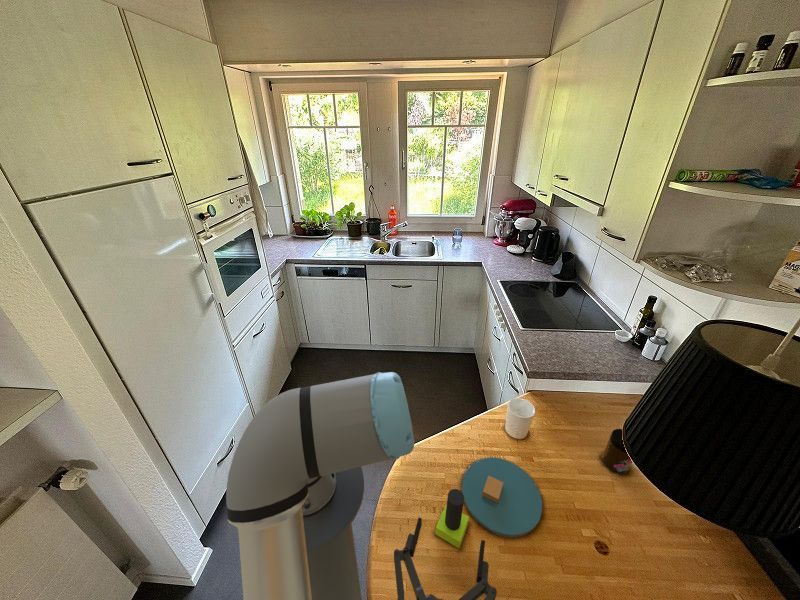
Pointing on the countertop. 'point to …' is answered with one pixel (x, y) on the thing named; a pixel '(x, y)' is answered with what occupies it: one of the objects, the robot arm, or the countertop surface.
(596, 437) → the countertop surface
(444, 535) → the sponge wand
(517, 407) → the white cup
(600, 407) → the countertop surface
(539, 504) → the plate
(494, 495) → the brown rectangular block
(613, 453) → the supplement container
